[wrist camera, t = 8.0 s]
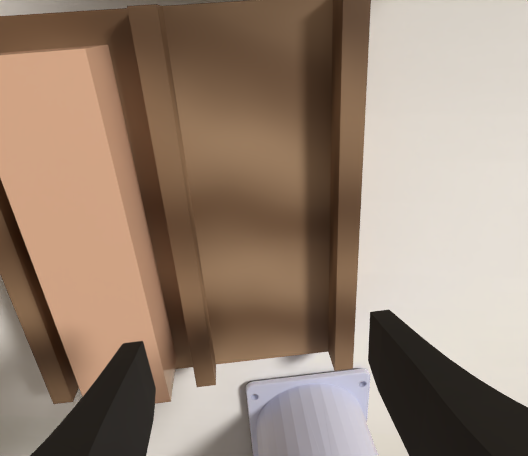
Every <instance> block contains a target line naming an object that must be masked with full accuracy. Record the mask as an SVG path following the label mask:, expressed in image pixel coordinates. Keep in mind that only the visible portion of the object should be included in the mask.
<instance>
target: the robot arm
mask: <svg viewBox="0 0 528 456" xmlns="http://www.w3.org/2000/svg"><path fill="white" fill-rule="evenodd" d="M368 361H369V364H370V367H371V371H372V374H373V377H374V380H375V382H376V385H377V388H378V391H379V393H380V395H381V397H382V399H383V402H384V404H385V406H386V408H387V410H388V412H389V414H390V416H391V418H392V421H393V423H394V425H395V427H396V429H397V431H398V433H399V435H400V437H401V439H402V441H403V443H404V446H405V448H406V450H407V452H408V454H409V456H528V407H526V406H524V405H522V404H520V403H518V402H516V401H515V400H513V399H511V398H509V397H507V396H506V395H504V394H502V393H500V392H499V391H497V390H496V389H494V388H492V387H491V386H489V385H487V384H486V383H484V382H482V381H481V380H479V379H478V378H476V377H475V376H473V375H472V374H470V373H469V372H467V371H466V370H464V369H463V368H461V367H460V366H459V365H457V364H456V363H454V362H453V361H452V360H450V359H449V358H447V357H446V356H445V355H443V354H442V353H441V352H440V351H438V350H437V349H436V348H435V347H433V346H432V345H431V344H429V343H428V342H427V341H426V340H424V339H423V338H422V337H421V336H420V335H418V334H417V333H416V332H415V331H414V330H412V329H411V328H410V327H409V326H408V325H407V324H405V323H404V322H403V321H402V320H401V319H399V318H398V317H397V316H396V315H395V314H394V313H392V312H391V311H390V310H383V311H375V312H370V331H369V355H368ZM362 381H363V382H362ZM369 388H370V374H369V372H368V370H366V369H354V370H346V371H337V372H329V373H321V374H312V375H304V376H295V377H287V378H278V379H270V380H261V381H253V382H250V383H248V384H247V385H246V396H247V405H248V414H249V423H250V432H251V441H252V450H253V456H379V455H378V452H377V450H376V447H375V444H374V442H373V439H372V436H371V433H370V431H369V428H368V425H367V415H368V402H369ZM253 394H256V395H253ZM155 395H156V387H155V383H154V379H153V376H152V372H151V368H150V365H149V361H148V357H147V354H146V350H145V346H144V343H143V341H137V342H129V343H123V344H122V345H121V346H120V348H119V349H118V350H117V352H116V353H115V355H114V356H113V357H112V359H111V360H110V361H109V363H108V364H107V366H106V367H105V368H104V370H103V371H102V372H101V374H100V375H99V376H98V378H97V379H96V380H95V382H94V383H93V384H92V386H91V387H90V388H89V390H88V391H87V392H86V393H85V395H84V396H83V397H82V399H81V400H80V401H79V402H78V403H77V405H76V406H75V407H74V408H73V409H72V411H71V412H70V413H69V414H68V415H67V416H66V418H65V419H64V420H63V421H62V422H61V424H60V425H59V426H58V427H57V428H56V429H55V430H54V431H53V433H52V434H51V435H50V436H49V437H48V438H47V439H46V440H45V441H44V442H43V443H42V444H41V445H40V446H39V447H38V448H37V449H36V450H35V451H34V452H33V453H32V454H31V455H30V456H146V453H147V448H148V443H149V438H150V434H151V429H152V424H153V417H154V407H155Z"/></svg>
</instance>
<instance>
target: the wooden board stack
mask: <svg viewBox="0 0 528 456" xmlns="http://www.w3.org/2000/svg"><path fill="white" fill-rule="evenodd" d="M370 4H371V0H249V1H234V2H218V3H202V4H187V5H171V6H160V5H157V4H153V5H138V6H127V8H124V9H108V10H93V11H77V12H61V13H46V14H30V15H14V16H0V53H7V52H20V51H33V50H45V49H58V48H70V47H83V46H96V45H108V46H109V51H110V56H111V60H112V65H113V69H114V74H115V78H116V83H117V88H118V92H119V97H120V101H121V106H122V110H123V115H124V120H125V124H126V129H127V133H128V138H129V142H130V147H131V152H132V156H133V161H134V165H135V170H136V174H137V179H138V184H139V188H140V193H141V197H142V202H143V206H144V211H145V216H146V220H147V225H148V229H149V234H150V239H151V243H152V248H153V252H154V257H155V261H156V266H157V271H158V275H159V280H160V284H161V289H162V293H163V298H164V303H165V307H166V312H167V316H168V321H169V325H170V330H171V335H172V339H173V344H174V348H175V353H176V357H177V358H176V365H175V369H179V368H188V367H193V368H194V374H195V379H196V385H197V387H202V386H210V385H216V364H223V363H232V362H240V361H249V360H258V359H266V358H275V357H284V356H292V355H301V354H310V353H318V352H327V351H328V352H329V355H330V358H331V361H332V364H333V367H334V370H335V371H337V370H346V369H353V352H354V332H355V311H356V291H357V270H358V250H359V229H360V209H361V188H362V168H363V148H364V127H365V107H366V86H367V66H368V45H369V25H370ZM0 274H1V277H2V279H3V282H4V284H5V287H6V289H7V291H8V294H9V296H10V299H11V301H12V304H13V306H14V309H15V311H16V313H17V316H18V318H19V321H20V323H21V326H22V328H23V330H24V333H25V335H26V338H27V340H28V343H29V345H30V348H31V350H32V352H33V355H34V357H35V360H36V362H37V365H38V367H39V370H40V372H41V374H42V377H43V379H44V382H45V384H46V387H47V389H48V392H49V394H50V396H51V399H52V401H53V404H57V403H66V402H73V400H74V398H75V395H76V393H77V390H78V388H79V386H78V383H77V381H76V378H75V375H74V373H73V370H72V367H71V365H70V362H69V359H68V357H67V354H66V351H65V349H64V346H63V343H62V341H61V338H60V335H59V333H58V330H57V327H56V325H55V322H54V319H53V317H52V314H51V311H50V309H49V306H48V303H47V301H46V298H45V295H44V293H43V290H42V287H41V285H40V282H39V279H38V277H37V274H36V271H35V269H34V266H33V263H32V261H31V258H30V255H29V253H28V250H27V247H26V245H25V242H24V239H23V237H22V234H21V231H20V229H19V226H18V223H17V221H16V218H15V215H14V213H13V210H12V207H11V205H10V202H9V199H8V197H7V194H6V191H5V189H4V186H3V183H2V181H1V178H0Z"/></svg>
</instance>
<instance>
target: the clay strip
mask: <svg viewBox="0 0 528 456" xmlns="http://www.w3.org/2000/svg"><path fill="white" fill-rule="evenodd" d="M0 178H1V181H2V183H3V186H4V189H5V191H6V194H7V197H8V199H9V202H10V205H11V207H12V210H13V213H14V215H15V218H16V221H17V223H18V226H19V229H20V231H21V234H22V237H23V239H24V242H25V245H26V247H27V250H28V253H29V255H30V258H31V261H32V263H33V266H34V269H35V271H36V274H37V277H38V279H39V282H40V285H41V287H42V290H43V293H44V295H45V298H46V301H47V303H48V306H49V309H50V311H51V314H52V317H53V319H54V322H55V325H56V327H57V330H58V333H59V335H60V338H61V341H62V343H63V346H64V349H65V351H66V354H67V357H68V359H69V362H70V365H71V367H72V370H73V373H74V375H75V378H76V381H77V383H78V386H79V389H80V391H81V394H82V397H83V396H84V395H85V393H86V392H87V391H88V390H89V388H90V387H91V386H92V384H93V383H94V382H95V380H96V379H97V378H98V376H99V375H100V374H101V372H102V371H103V370H104V368H105V367H106V366H107V364H108V363H109V361H110V360H111V359H112V357H113V356H114V355H115V353H116V352H117V350H118V349H119V348H120V346H121V345H122V344H123V343H129V342H137V341H143V343H144V346H145V350H146V354H147V357H148V361H149V365H150V368H151V372H152V376H153V379H154V383H155V387H156V395H155V403H163V402H171V396H172V388H173V381H174V373H175V365H176V358H177V357H176V353H175V348H174V344H173V339H172V335H171V330H170V325H169V321H168V316H167V312H166V307H165V303H164V298H163V293H162V289H161V284H160V280H159V275H158V271H157V266H156V261H155V257H154V252H153V248H152V243H151V239H150V234H149V229H148V225H147V220H146V216H145V211H144V206H143V202H142V197H141V193H140V188H139V184H138V179H137V174H136V170H135V165H134V161H133V156H132V152H131V147H130V142H129V138H128V133H127V129H126V124H125V120H124V115H123V110H122V106H121V101H120V97H119V92H118V88H117V83H116V78H115V74H114V69H113V65H112V60H111V56H110V51H109V46H108V45H96V46H83V47H70V48H58V49H45V50H33V51H20V52H7V53H0Z"/></svg>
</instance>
